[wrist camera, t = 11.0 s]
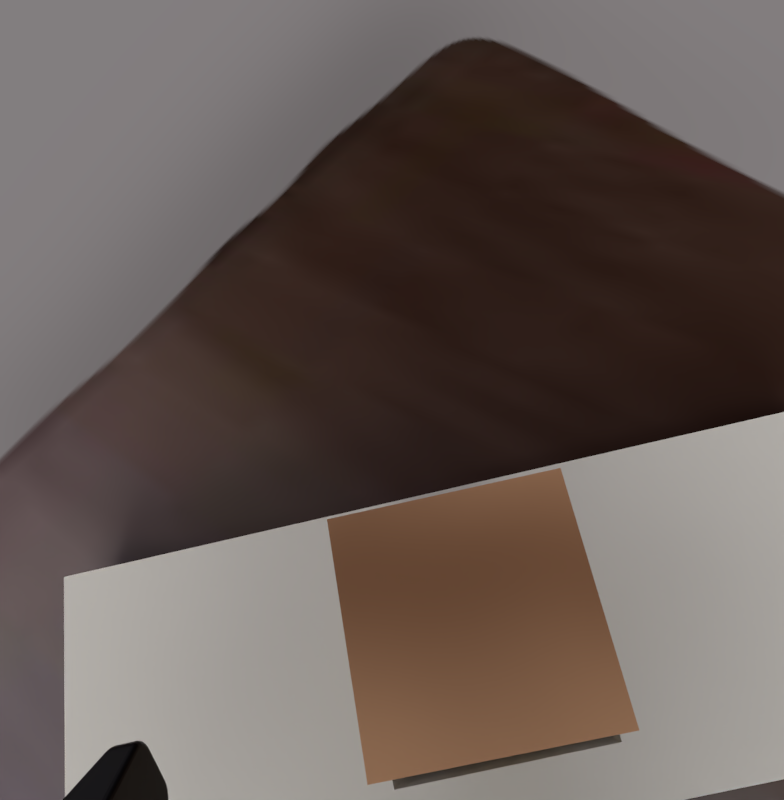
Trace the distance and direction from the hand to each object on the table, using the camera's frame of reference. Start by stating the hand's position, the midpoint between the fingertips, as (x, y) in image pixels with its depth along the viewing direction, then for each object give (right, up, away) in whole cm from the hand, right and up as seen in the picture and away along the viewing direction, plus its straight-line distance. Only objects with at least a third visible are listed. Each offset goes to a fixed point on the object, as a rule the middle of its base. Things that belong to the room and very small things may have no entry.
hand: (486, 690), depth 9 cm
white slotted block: (+2, -4, +13) cm, 14 cm away
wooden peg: (+2, -4, +13) cm, 14 cm away
